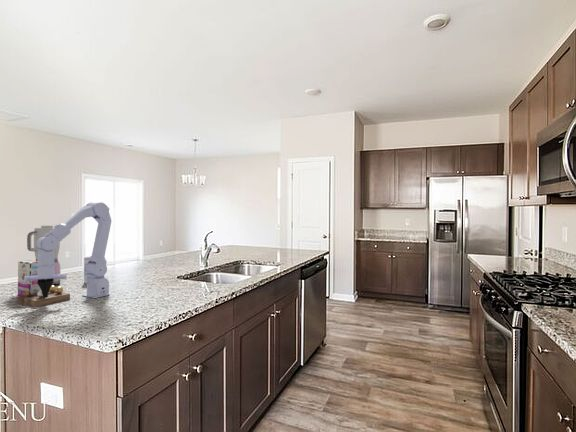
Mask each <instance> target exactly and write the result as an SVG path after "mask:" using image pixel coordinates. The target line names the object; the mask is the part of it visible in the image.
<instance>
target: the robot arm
mask: <svg viewBox="0 0 576 432" xmlns="http://www.w3.org/2000/svg"><path fill="white" fill-rule="evenodd" d="M79 209H80V210H79V211H77V212H75V214H73V215H72V216H71V217H70V218H69V219H68V220H67V221H66V222H65V223H58V224H55V225H53V228H54V229H53V230H51V231H50V232H49V233H46V234H45V237H41V238H39V239H38V240H37V242H36V244H35V245H36V247H37V248H38V275H34V276H25V277H24V282H26V281H38V282H37V284H38V285H39V287H40V289H41V291H42V294H43V298H47V297H48V294H49V290H50V288H51V286H53V284H52V283H53V282H54V280H56V279H60V280H67V279H68V278H67V273H63V274H61V273H60V274H54V249H55V248H56V247H57V244H58V243H59V242H60V243H61V241H63V240H64V239H66V237H68V236H69V235H70V234H71V229H73V228H74V227H75V226H77V225H78V224H79V223H81V222H82V221H83V220H85V219H86V218H93V220H95V221H96V223H97V228H96V234H95V238H94V242H93V248H92V252H91V255H90V256H91V257H90V256H89V257H90V258H89V259H88V263H87V264H86V265H85V268H84V267H83V271H84V270H85V272H86V273H87V283H86V293H85V294H81V295H82V297H87V298H92V299H97V298H102V297H106V296H107V297H108V296H110V295H111V293H110V292H109V291H110V281H109V279H108V278H107V277H106V276H105V275H106V274H107V272H108V266H107V262H108V261H107V259H106V258H105V256H106V252H107V246H108V241H109V236H110V230H111V225H112V218H111V214H110V207H109V206H108V205H107V204H106V203H104V202H89V203H87V204H86V205H84V206H82V207H81V208H79ZM46 278H49V279H46Z"/></svg>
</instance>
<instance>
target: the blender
mask: <svg viewBox="0 0 576 432" xmlns="http://www.w3.org/2000/svg"><path fill="white" fill-rule="evenodd" d="M54 228H55V227H54V225H53V224H49V225H48V224H46V225H45V224H44V225H43V224H42V225H41V226H40V227H34V230H33V231H30V232H28V234H27V235H26V236H27V237H26V247H27V250H28V251H29V252H34V257H35V261H38V248H37V247H36V245H35V244H36V242H37V240H38V239H39V238H41V237H45V234H46V233H49V232H50V231H51V230H53V229H54ZM32 236H33V247H32ZM60 244H61V241H60V242H59V243H58V244H57V247H56V248H55V249H54V274H61V264H60V262H59V260H58V258H59V251H60V246H61V245H60ZM46 279H49V278H46ZM55 284H58V285H61V279H56V280H54V282H53V283H52V285H55Z"/></svg>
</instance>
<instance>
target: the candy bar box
mask: <svg viewBox="0 0 576 432" xmlns="http://www.w3.org/2000/svg"><path fill="white" fill-rule="evenodd" d="M17 264H18V266H17V267H18V269H17V297H18V296H23V295H28V294H34V293H38V292H39V291H41V289H40V287H39V285H38V284H37V282H38V281H26V282H24V277H25V276H34V275H38V261H36V260H29V259H28V260H19V261H17Z"/></svg>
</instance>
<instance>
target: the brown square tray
mask: <svg viewBox="0 0 576 432" xmlns="http://www.w3.org/2000/svg"><path fill="white" fill-rule="evenodd" d="M70 299H71V293H67V292H64V291H63V292H62V293H61V294H56V293H55V292H53V293H51V292H49V294H48V297H47V298H39V297H38V296H37V293H34V294H28V295H23V296H18V295H17V296H16V303H18V304H21V305H26V306H31V307H34V308H35V307H41V306H44V305H50V304H55V303H58V302H59V303H60V302H64V301H68V300H70Z"/></svg>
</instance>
